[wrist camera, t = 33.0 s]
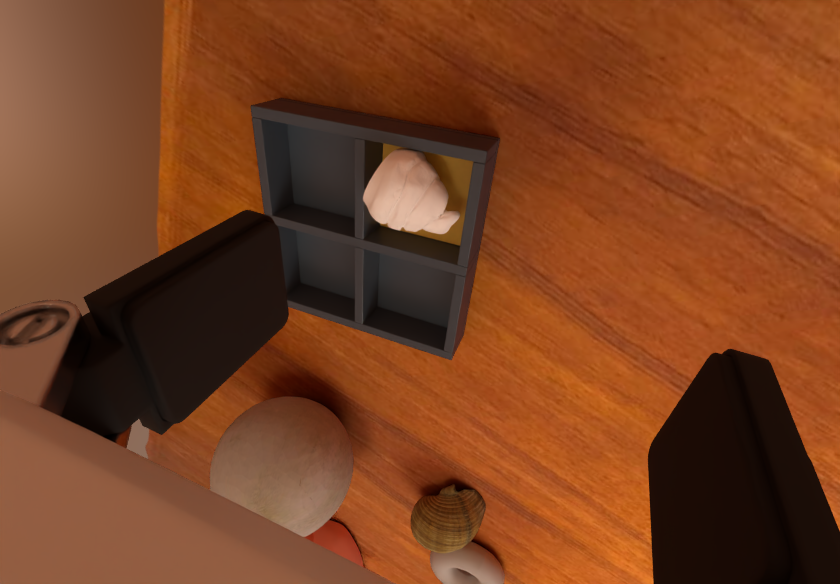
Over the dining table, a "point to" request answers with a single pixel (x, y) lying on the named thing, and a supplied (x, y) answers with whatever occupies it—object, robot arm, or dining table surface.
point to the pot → (337, 541)
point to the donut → (467, 566)
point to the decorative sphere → (285, 463)
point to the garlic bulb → (409, 194)
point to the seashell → (447, 519)
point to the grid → (371, 221)
